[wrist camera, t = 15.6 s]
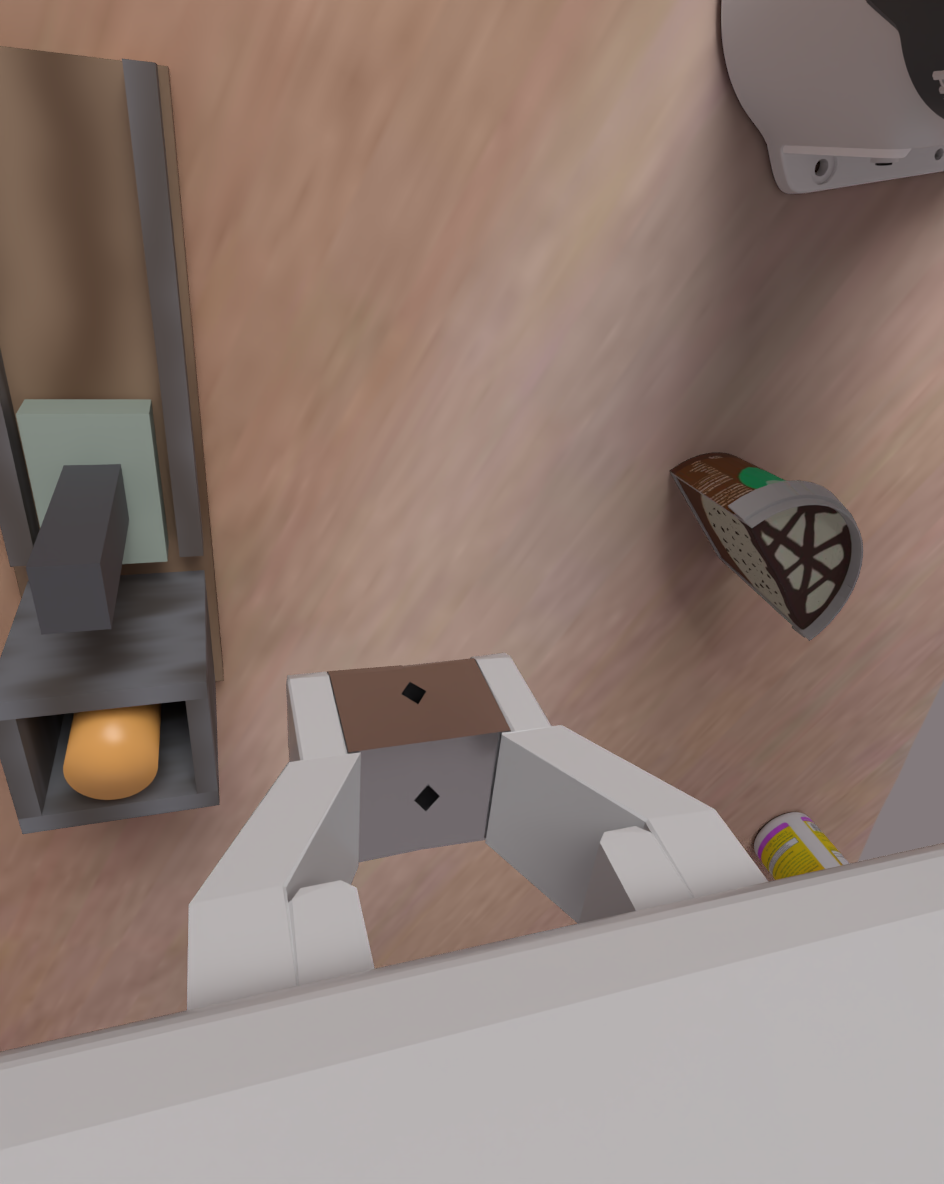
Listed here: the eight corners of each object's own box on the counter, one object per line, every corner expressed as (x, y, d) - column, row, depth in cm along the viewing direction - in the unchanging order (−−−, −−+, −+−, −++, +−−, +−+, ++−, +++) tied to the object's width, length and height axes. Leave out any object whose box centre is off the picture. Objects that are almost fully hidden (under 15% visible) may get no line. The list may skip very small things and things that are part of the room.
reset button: (158, 654, 40) (152, 729, 35) (166, 713, 42) (162, 792, 37) (73, 662, 39) (55, 741, 34) (86, 722, 41) (71, 805, 36)
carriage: (151, 399, 38) (135, 501, 28) (168, 542, 42) (160, 674, 32) (24, 399, 36) (-40, 507, 27) (55, 548, 41) (10, 689, 31)
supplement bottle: (744, 860, 80) (826, 972, 70) (759, 815, 77) (848, 927, 66) (798, 847, 82) (885, 954, 72) (815, 803, 78) (909, 909, 68)
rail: (168, 67, 33) (157, 51, 23) (223, 666, 49) (229, 803, 40) (-104, 34, 30) (-248, 0, 20) (49, 683, 46) (10, 835, 37)
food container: (793, 520, 57) (891, 587, 49) (726, 570, 58) (812, 645, 50) (736, 396, 50) (840, 451, 42) (660, 455, 51) (748, 521, 43)
